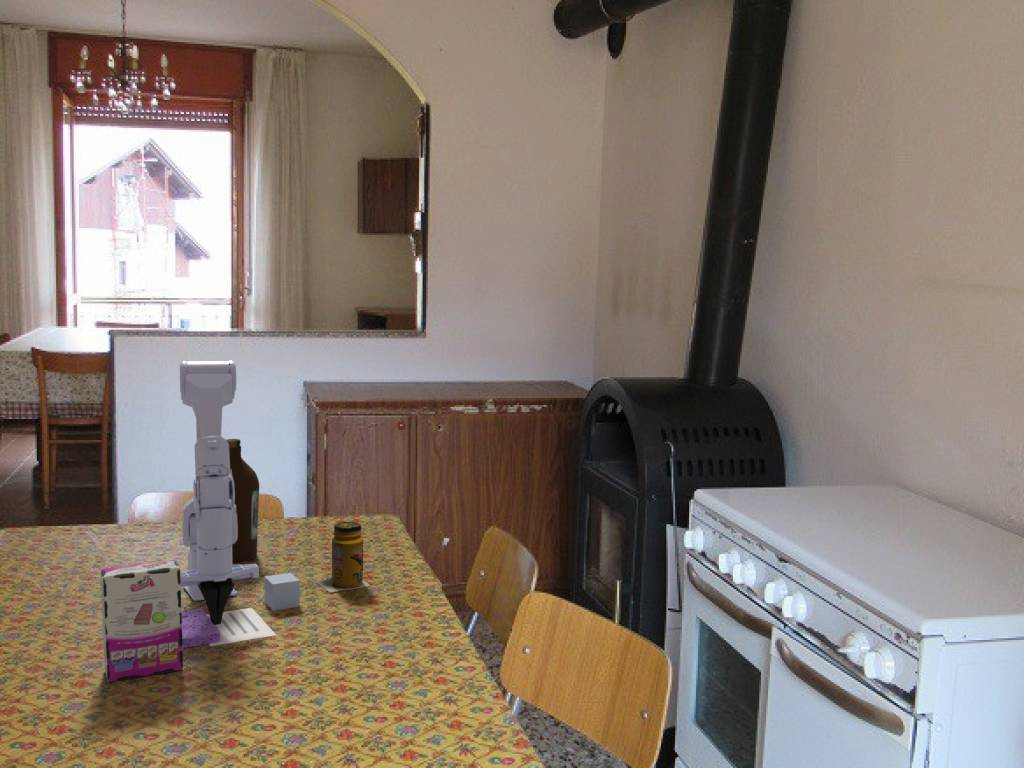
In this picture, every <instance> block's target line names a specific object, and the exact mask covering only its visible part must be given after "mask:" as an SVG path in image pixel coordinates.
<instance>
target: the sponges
mask: <svg viewBox="0 0 1024 768" xmlns="http://www.w3.org/2000/svg"><path fill="white" fill-rule="evenodd" d="M181 612H182V613H181V615H182V641H183V649H185V648H190V647H191V648H192V647H197V646H198V647H199V646H201V645H204V646H205V645H209V644H208V643H214V642H218V641H220V631H219V630H218V629H217V628H216V626H214V625H213V623H212V622H211V620H210V619H208V616H207V614H206V612H205V610H204V609H203V607H202V608H201V607H200V608H196V609H191V610H186V611H181Z"/></svg>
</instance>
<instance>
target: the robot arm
mask: <svg viewBox="0 0 1024 768" xmlns="http://www.w3.org/2000/svg"><path fill="white" fill-rule="evenodd" d="M179 391H180V400H182V405H184V406H188V407H190V408H192V411H193V413H194V415H195V420H196V421H195V422H196V423H195V425H196V427H195V428H196V429H195V430H196V431H195V432H196V442H195V443H194V466H195V467H194V468H195V474H194V475H195V479H193V494H192V495H193V496H192V498H190V499H189V500H188V501H187V502H185V503H184V504H183V505H184V506H183V507H182V516H181V517H182V519H181V521H182V527H181V528H182V544H183V545H184V546H185V547H187V548H189V550H188V554H187V569H188V570H186V571H183V572H180V579H181V581H180V583H181V588H182V587H183V588H184V591H186V593H187V594H188V595H189V597H191V599H192V600H193V601H195V602H199V601H204V602H205V604H206V607H207V611H208V614H209V615H210V620H211V622H212V623H213V625H218V624H221V620H222V615H223V612H225V611H224V610H225V608H226V605H227V603H228V600H229V598H230V597H232V596H233V597H234V596H237V595H238V592H237V590H235V588H234V585H235V584H234V582H233V580H239V579H246V578H253V579H254V578H255V579H256V578H259V577H260V566H258V564H256V563H250V564H249V563H248V564H247V563H246V564H233V563H232V544H234V543H235V542H236V541H237V538H238V525H237V513H236V505H235V504H234V501H235V489H234V480H233V476H232V470H231V469H230V458H229V444H228V442H227V439H225V437H223V436H222V421H223V408H224V407H225V406H227V405H230V404H232V403H234V399H235V396H236V391H237V363H235V362H234V361H233V360H231V359H229V360H220V361H219V360H216V361H215V360H211V361H207V360H204V361H201V360H199V361H197V360H195V361H186V360H182V361H181V362H180V364H179ZM229 496H230V498H231V499H229Z"/></svg>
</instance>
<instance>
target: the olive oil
mask: <svg viewBox="0 0 1024 768" xmlns="http://www.w3.org/2000/svg"><path fill="white" fill-rule="evenodd" d="M226 440H227V442H228V444H229V458H230V469H231V470H232V476H233V480H234V489H235V501H234V504H235V505H236V513H237V525H238V538H237V541H236V542H235V543H234V544H232V564H236V563H243V562H249V561H252V560H253V559H255V558H256V557H257V556H258V528H259V506H260V505H259V503H260V502H259V501H260V481H259V477H258V475H257V473H256V471H255V470H254V469H253V468H252V467H251V466H250V465H249V464H248V463H247V462H246V461H245V460H244V459H243V458H242V445H241V439H239V438H227V439H226ZM229 499H231V498H230V496H229Z"/></svg>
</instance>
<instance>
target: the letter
mask: <svg viewBox="0 0 1024 768" xmlns="http://www.w3.org/2000/svg"><path fill="white" fill-rule="evenodd" d="M206 615H207V616H208V619H210V615H209V613H208V614H206ZM214 626H216V628H217V629H218V630H219V631H220V641H218V642H214V643H208V644H207V645H208V646H209V647H215V646H221V645H226V644H234V643H239V642H245V641H252V640H256V639H262V638H269V637H274V636H277V634H276V632H274V631H273V629H272V628H271V627H270V625H268V624H267V623H266V622H265V621H264V619H262V617H261V616H260V615H259V614H258V613H257V612H256V611H255V609H253V607H248V608H242V609H236V610H229V611H224V612H223V615H222V620H221V624H218V625H214Z"/></svg>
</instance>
